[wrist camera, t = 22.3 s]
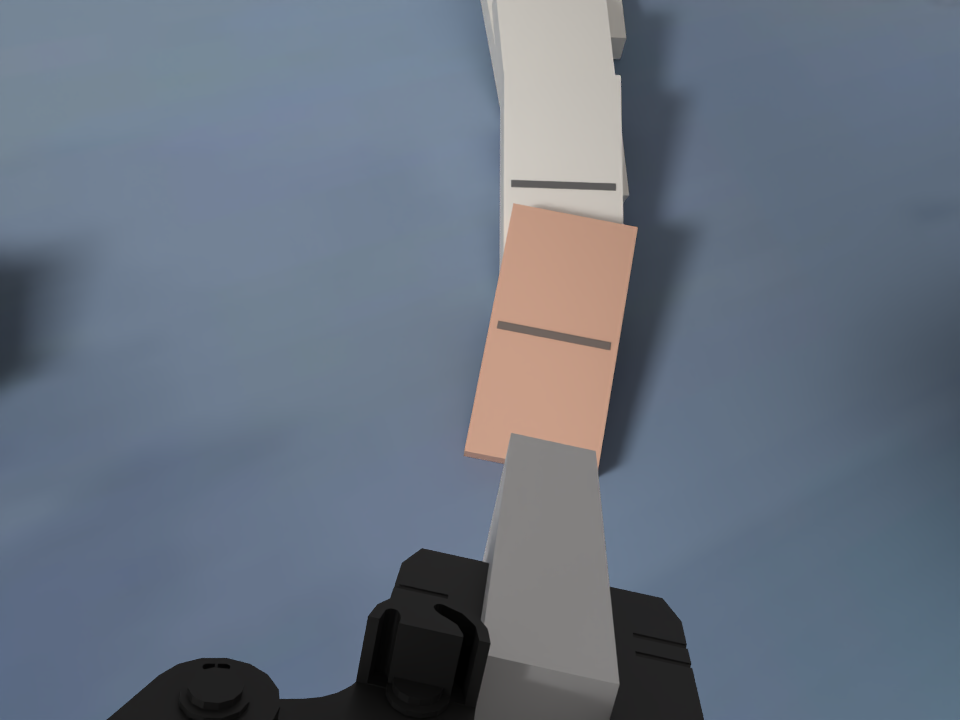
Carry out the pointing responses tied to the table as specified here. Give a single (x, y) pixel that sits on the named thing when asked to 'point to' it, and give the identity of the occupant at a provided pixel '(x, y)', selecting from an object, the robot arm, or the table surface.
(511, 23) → the domino
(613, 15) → the domino
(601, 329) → the domino
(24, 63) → the table surface
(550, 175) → the domino
